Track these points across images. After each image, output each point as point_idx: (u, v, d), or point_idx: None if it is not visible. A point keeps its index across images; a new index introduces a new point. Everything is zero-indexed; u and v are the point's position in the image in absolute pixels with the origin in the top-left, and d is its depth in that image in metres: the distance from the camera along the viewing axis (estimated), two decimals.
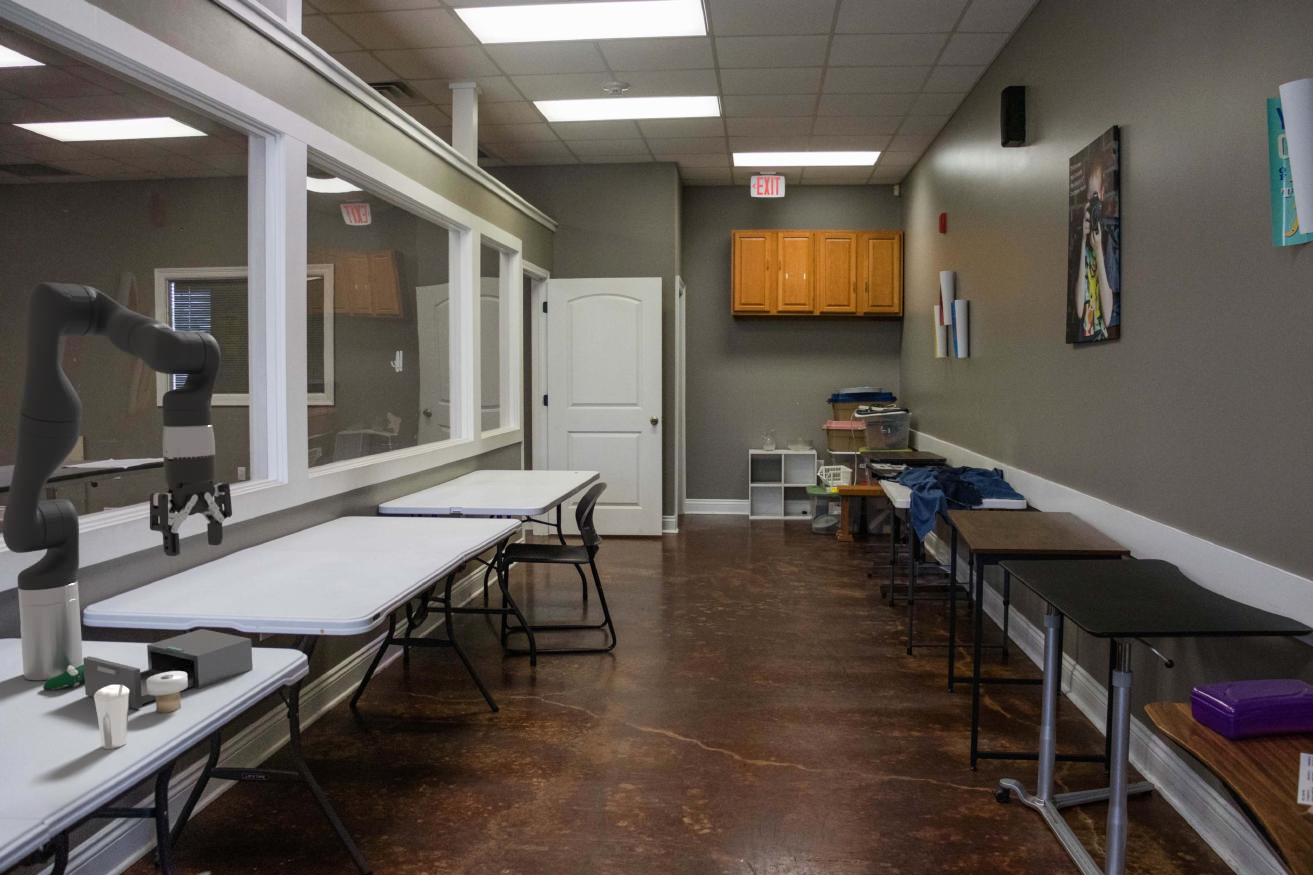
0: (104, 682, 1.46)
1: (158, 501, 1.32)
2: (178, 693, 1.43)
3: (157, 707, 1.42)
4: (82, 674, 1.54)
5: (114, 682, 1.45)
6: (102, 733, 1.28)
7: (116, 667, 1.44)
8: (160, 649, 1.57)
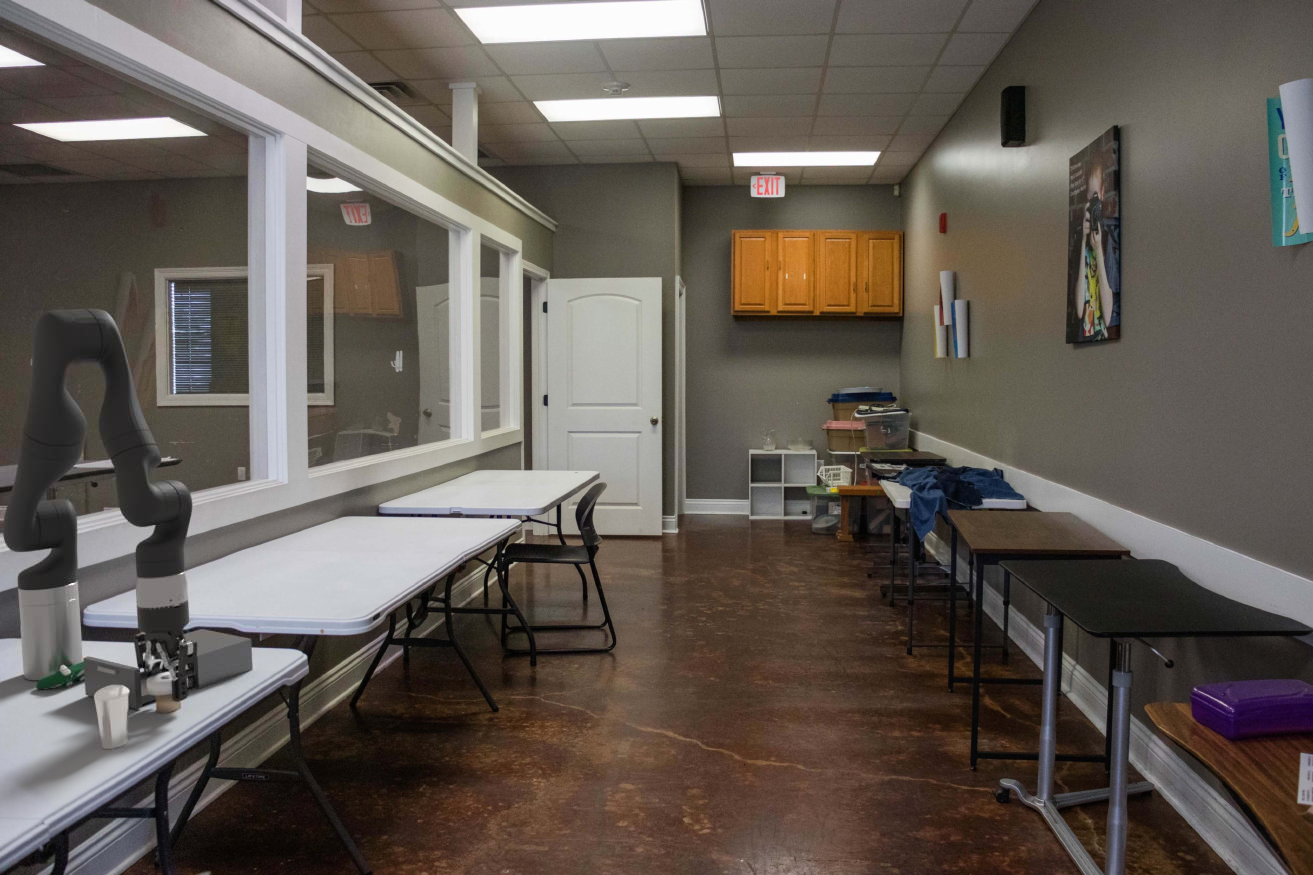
0: (104, 682, 1.46)
1: (193, 649, 1.40)
2: None
3: (157, 707, 1.42)
4: (75, 674, 1.54)
5: (114, 682, 1.45)
6: (102, 733, 1.28)
7: (116, 667, 1.44)
8: None
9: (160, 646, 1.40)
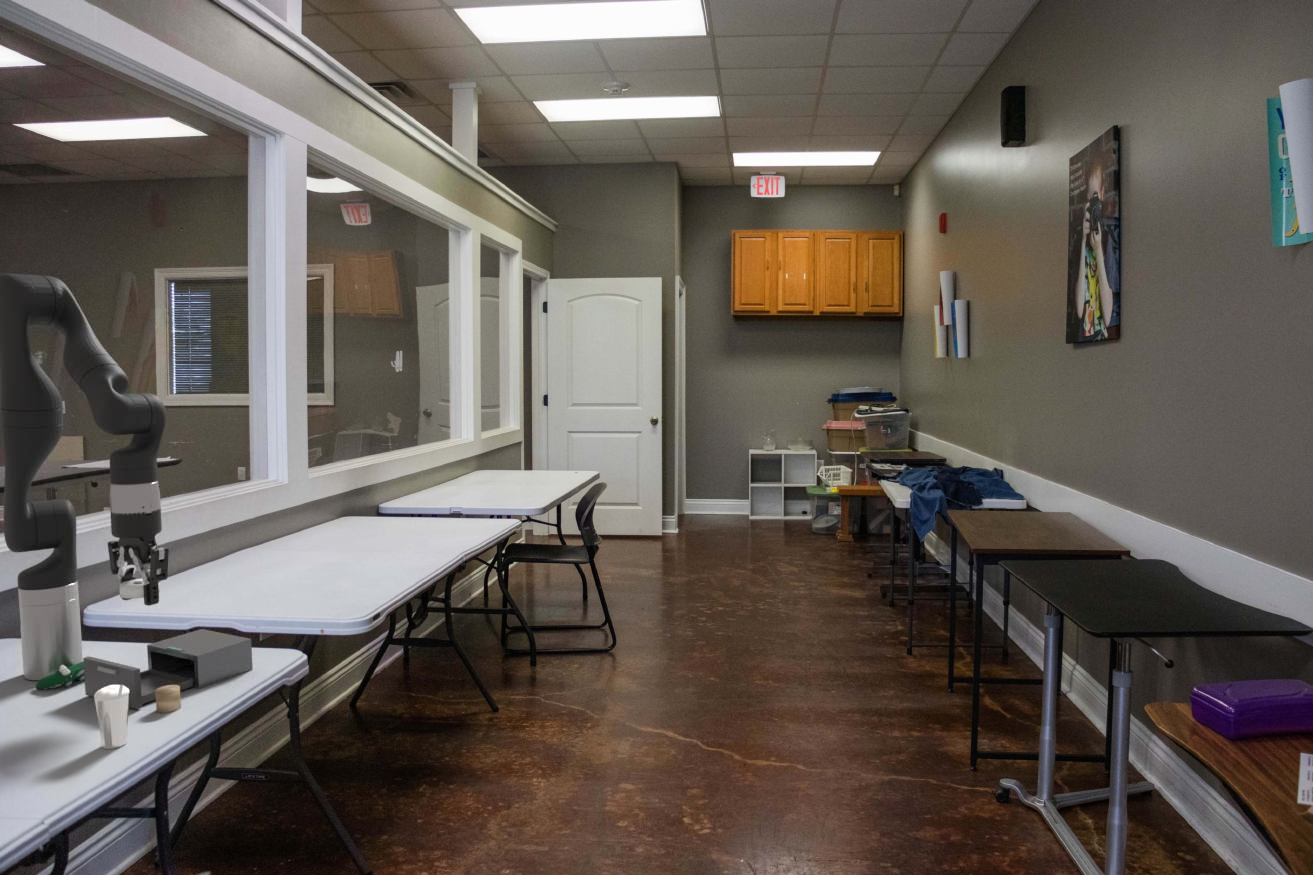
0: (104, 682, 1.46)
1: (164, 555, 1.45)
2: (178, 693, 1.43)
3: (157, 707, 1.42)
4: (74, 674, 1.54)
5: (114, 682, 1.45)
6: (102, 733, 1.28)
7: (116, 667, 1.44)
8: (160, 649, 1.57)
9: (133, 551, 1.45)
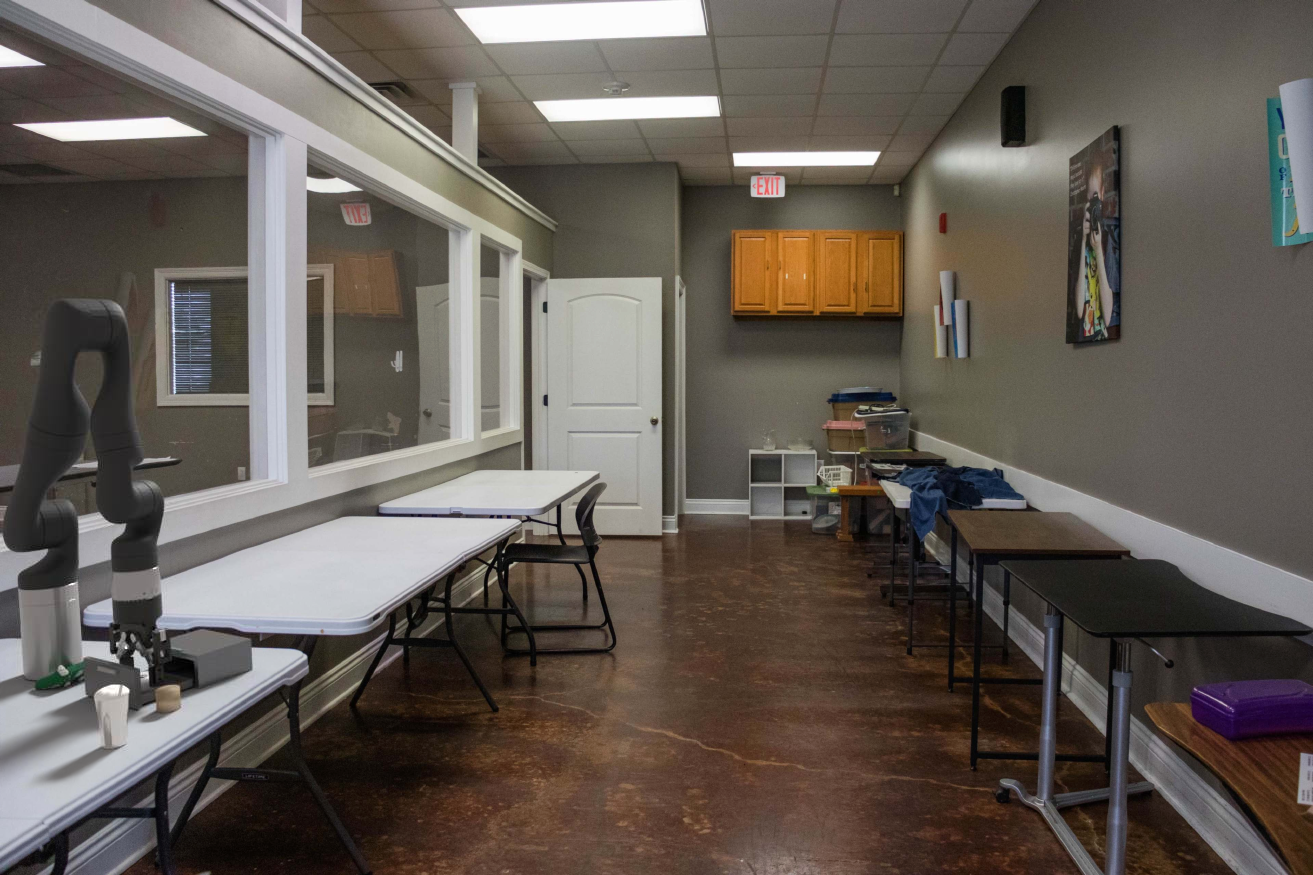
0: (104, 682, 1.46)
1: (166, 636, 1.47)
2: (178, 693, 1.43)
3: (157, 707, 1.42)
4: (73, 674, 1.54)
5: (114, 682, 1.45)
6: (102, 733, 1.28)
7: (116, 667, 1.44)
8: None
9: (134, 637, 1.47)
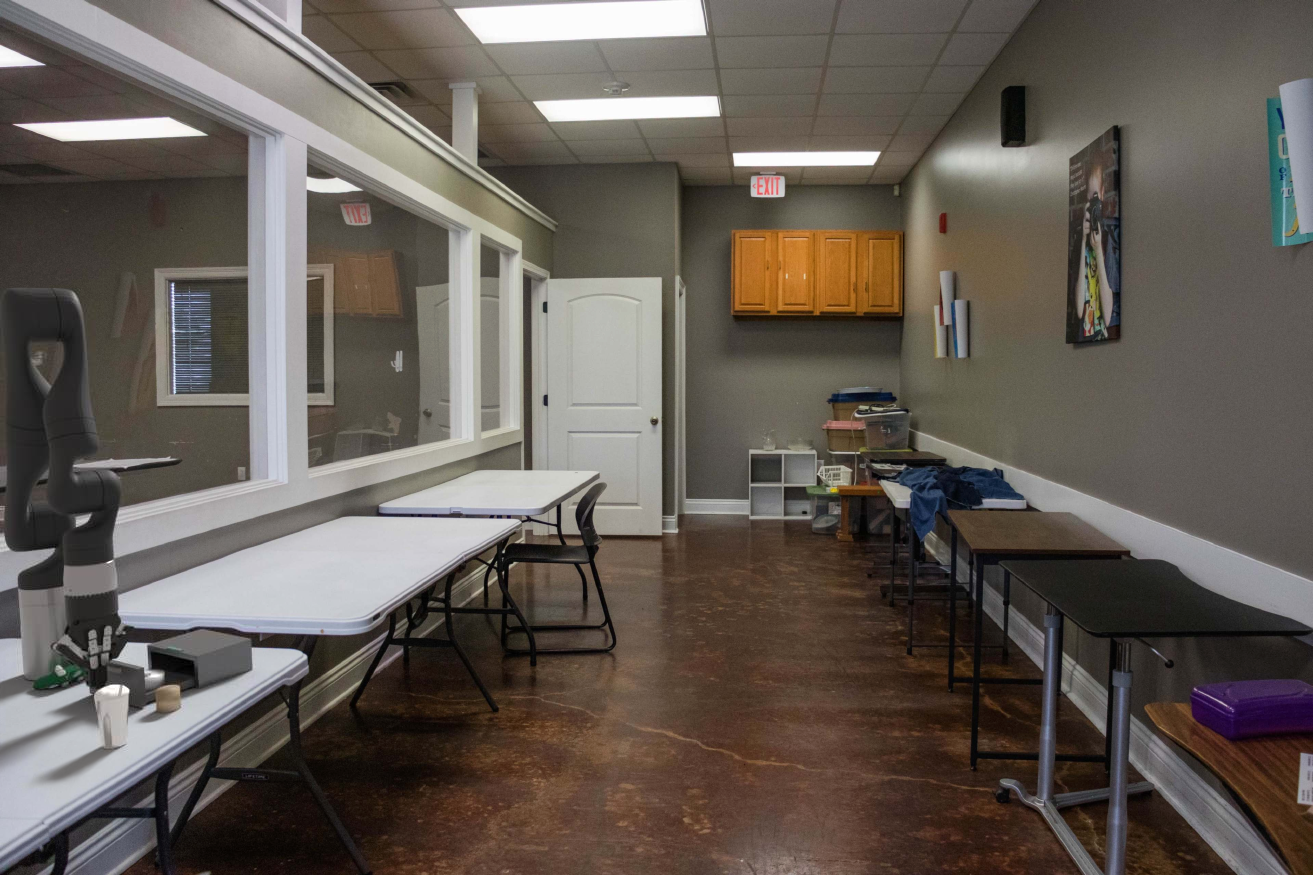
0: (108, 681, 1.47)
1: None
2: (178, 693, 1.43)
3: (157, 707, 1.42)
4: (70, 674, 1.54)
5: (118, 681, 1.45)
6: (102, 733, 1.28)
7: (120, 666, 1.45)
8: (160, 649, 1.57)
9: (110, 628, 1.44)
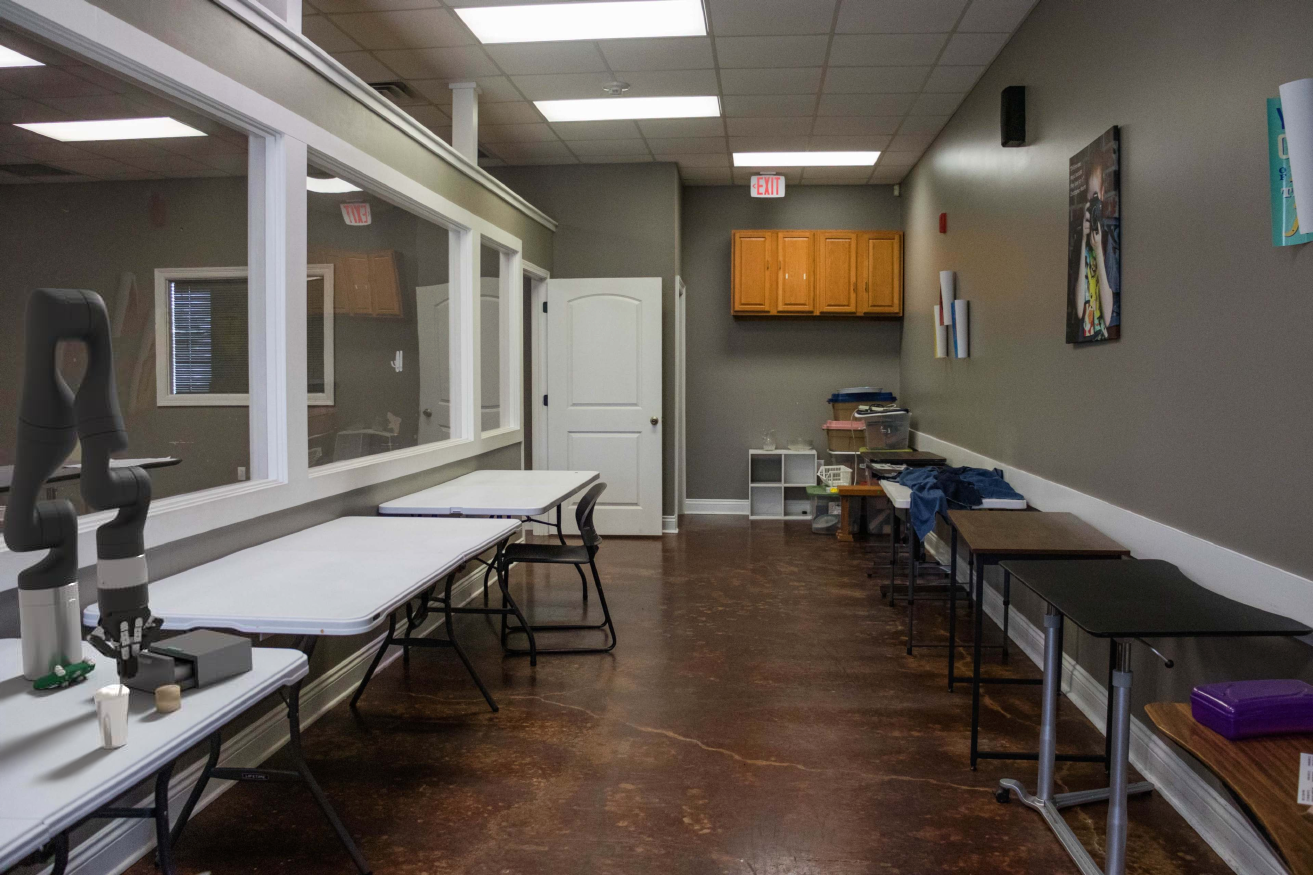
0: (138, 671, 1.51)
1: None
2: (178, 693, 1.43)
3: (157, 707, 1.42)
4: (70, 674, 1.54)
5: (149, 671, 1.50)
6: (102, 733, 1.28)
7: (150, 657, 1.49)
8: (160, 649, 1.57)
9: (141, 620, 1.48)
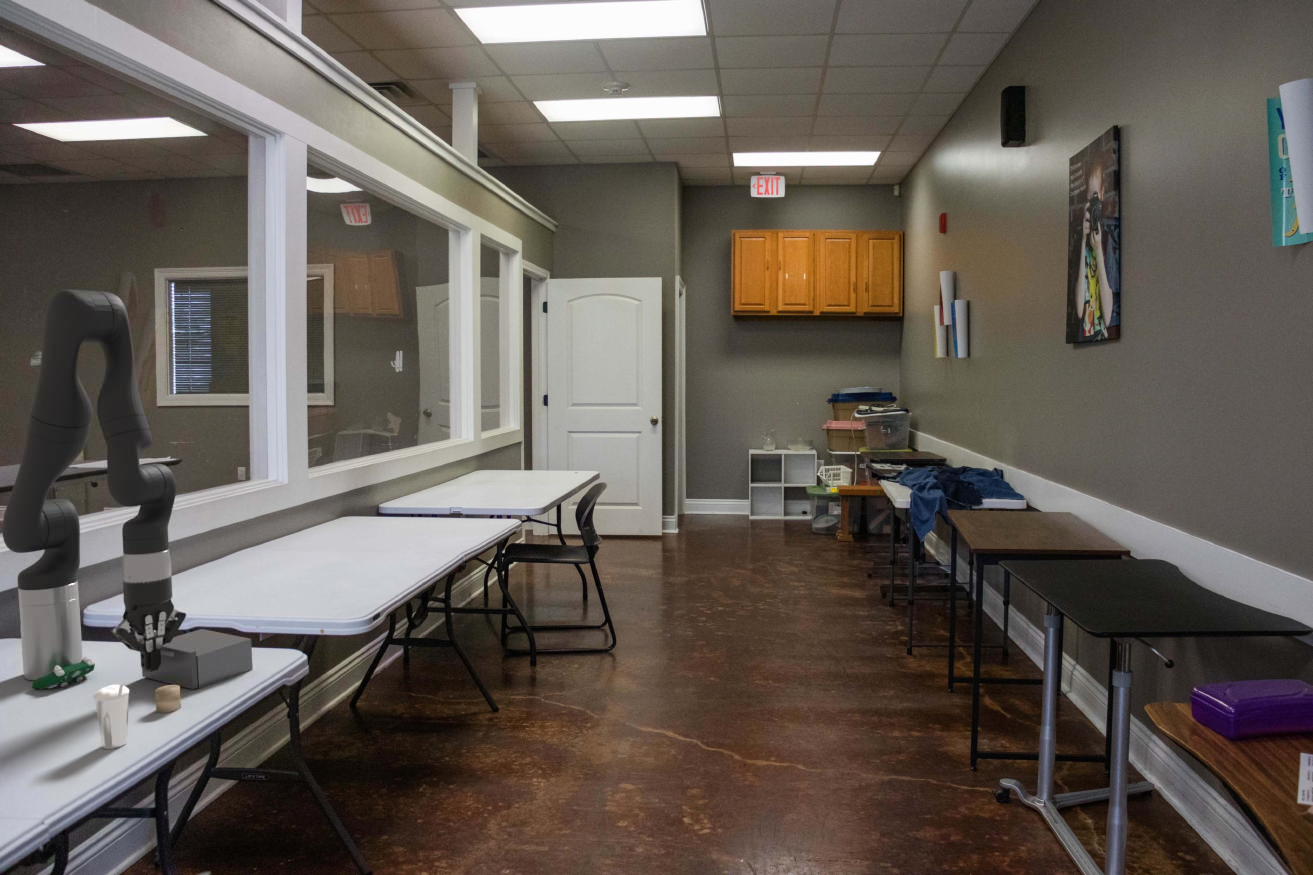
0: (161, 664, 1.55)
1: None
2: (178, 693, 1.43)
3: (157, 707, 1.42)
4: (69, 675, 1.54)
5: (171, 664, 1.54)
6: (102, 733, 1.28)
7: (173, 650, 1.53)
8: None
9: (165, 614, 1.52)
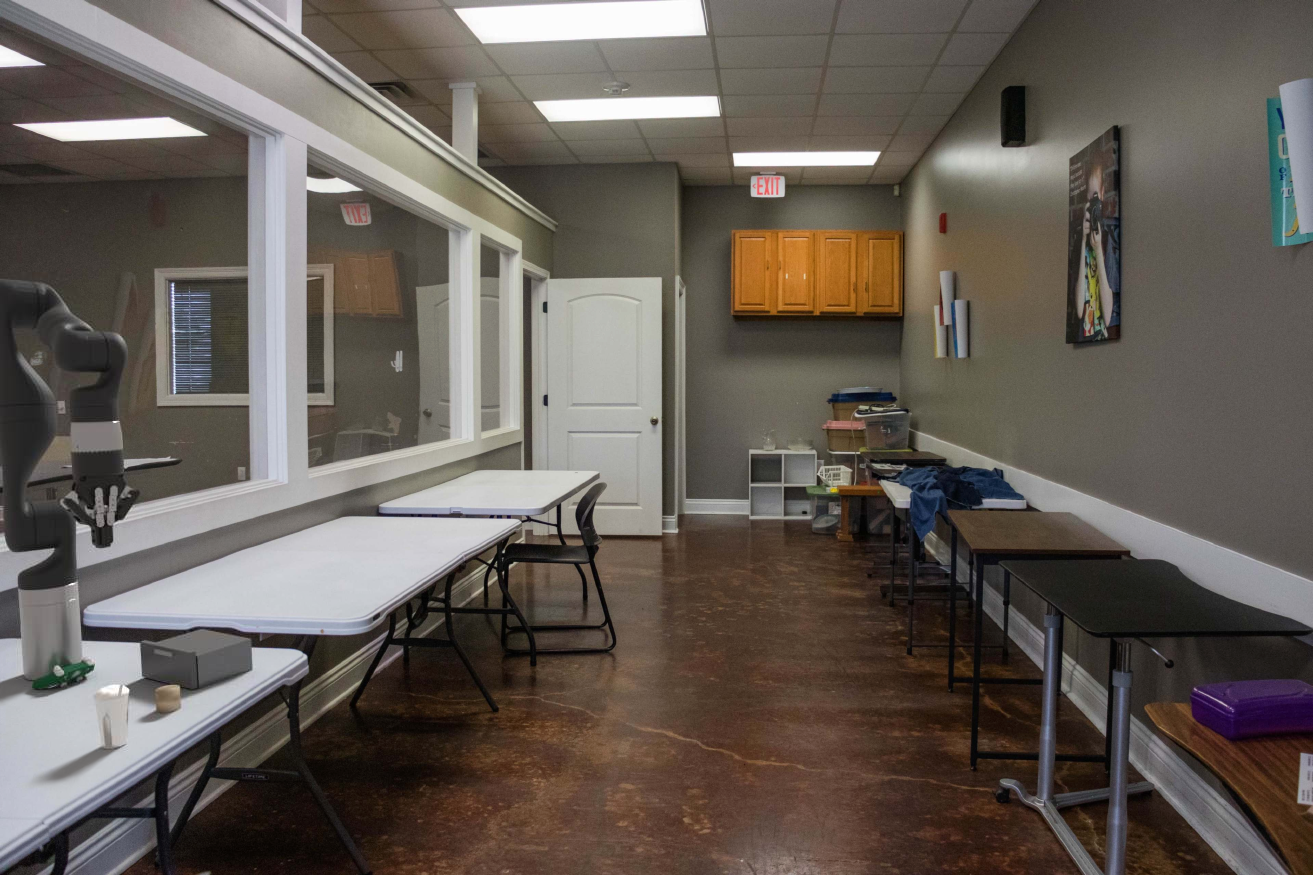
0: (160, 664, 1.55)
1: None
2: (178, 693, 1.43)
3: (157, 707, 1.42)
4: (69, 675, 1.54)
5: (171, 664, 1.54)
6: (102, 733, 1.28)
7: (172, 650, 1.53)
8: None
9: (116, 488, 1.46)
